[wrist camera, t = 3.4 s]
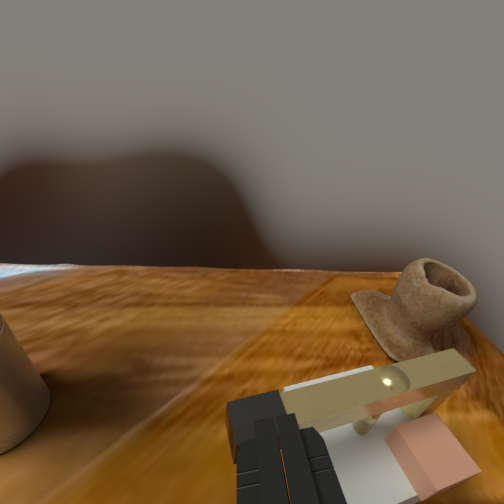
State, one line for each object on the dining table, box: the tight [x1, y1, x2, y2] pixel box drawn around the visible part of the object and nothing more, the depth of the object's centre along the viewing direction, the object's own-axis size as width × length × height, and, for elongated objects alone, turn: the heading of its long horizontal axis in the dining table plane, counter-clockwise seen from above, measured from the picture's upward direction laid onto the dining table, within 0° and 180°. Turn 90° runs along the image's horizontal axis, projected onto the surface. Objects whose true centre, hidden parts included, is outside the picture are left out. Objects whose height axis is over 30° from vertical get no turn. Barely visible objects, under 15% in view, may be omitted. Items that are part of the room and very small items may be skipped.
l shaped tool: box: [226, 348, 476, 464], centre depth 25 cm, size 22×3×9 cm, turn 106°
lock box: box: [283, 365, 420, 504], centre depth 31 cm, size 12×12×8 cm
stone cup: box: [351, 258, 477, 362], centre depth 46 cm, size 15×12×15 cm
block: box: [384, 412, 482, 502], centre depth 26 cm, size 5×5×3 cm
